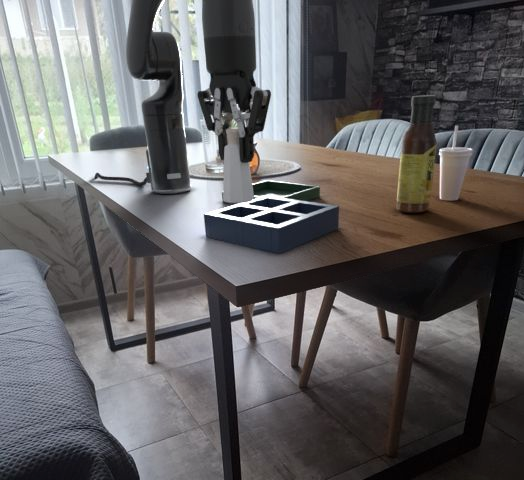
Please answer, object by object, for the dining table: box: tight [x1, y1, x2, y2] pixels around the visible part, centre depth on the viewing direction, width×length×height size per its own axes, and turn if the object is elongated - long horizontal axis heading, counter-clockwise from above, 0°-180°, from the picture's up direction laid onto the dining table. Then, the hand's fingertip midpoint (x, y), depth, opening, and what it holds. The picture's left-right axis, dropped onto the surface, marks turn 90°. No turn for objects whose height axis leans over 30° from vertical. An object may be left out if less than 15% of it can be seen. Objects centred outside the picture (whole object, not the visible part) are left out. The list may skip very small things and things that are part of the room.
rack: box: [203, 196, 340, 255], centre depth 83 cm, size 16×16×4 cm
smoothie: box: [438, 125, 474, 202], centre depth 98 cm, size 6×6×14 cm
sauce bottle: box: [396, 94, 438, 214], centre depth 89 cm, size 6×6×20 cm
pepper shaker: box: [222, 127, 254, 204], centre depth 79 cm, size 5×5×11 cm
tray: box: [221, 179, 321, 205], centre depth 107 cm, size 15×15×2 cm
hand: (236, 160), depth 78 cm, fingers closed on pepper shaker, 4 cm apart
